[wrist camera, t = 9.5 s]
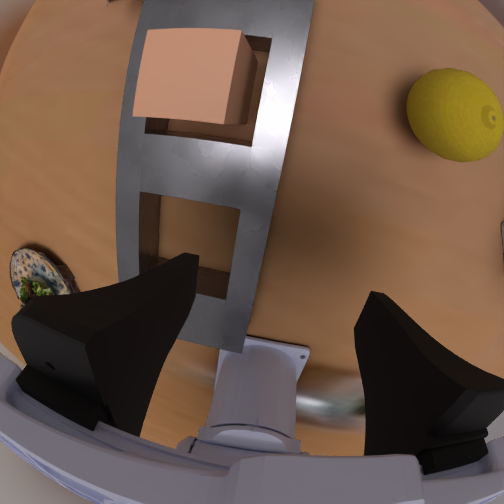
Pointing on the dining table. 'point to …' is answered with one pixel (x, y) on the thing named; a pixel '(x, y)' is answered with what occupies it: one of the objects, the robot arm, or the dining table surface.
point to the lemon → (455, 115)
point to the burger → (38, 276)
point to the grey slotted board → (211, 160)
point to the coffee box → (503, 227)
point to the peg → (196, 75)
